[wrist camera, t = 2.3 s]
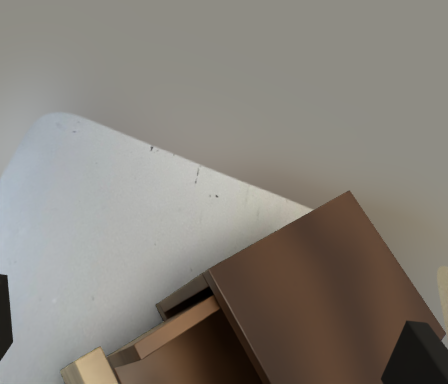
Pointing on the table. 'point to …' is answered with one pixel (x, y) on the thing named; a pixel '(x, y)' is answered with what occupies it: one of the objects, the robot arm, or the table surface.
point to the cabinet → (314, 299)
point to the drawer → (173, 353)
